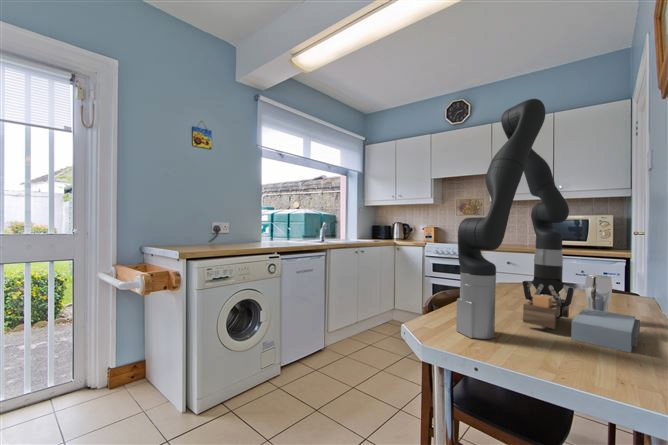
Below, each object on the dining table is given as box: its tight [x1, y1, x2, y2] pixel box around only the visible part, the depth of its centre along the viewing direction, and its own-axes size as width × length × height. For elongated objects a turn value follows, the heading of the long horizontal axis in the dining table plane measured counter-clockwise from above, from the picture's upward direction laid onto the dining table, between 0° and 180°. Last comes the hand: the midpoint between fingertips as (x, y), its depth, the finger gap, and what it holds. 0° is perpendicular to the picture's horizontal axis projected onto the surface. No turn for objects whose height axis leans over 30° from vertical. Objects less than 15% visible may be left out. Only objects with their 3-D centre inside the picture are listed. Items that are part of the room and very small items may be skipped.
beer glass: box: [584, 274, 613, 312], centre depth 106 cm, size 7×7×15 cm
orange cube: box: [532, 294, 552, 309], centre depth 95 cm, size 4×4×4 cm
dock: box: [570, 307, 641, 354], centre depth 89 cm, size 22×13×5 cm, turn 134°
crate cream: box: [542, 291, 562, 302], centre depth 103 cm, size 4×4×4 cm
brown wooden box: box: [522, 298, 570, 330], centre depth 99 cm, size 20×8×6 cm, turn 133°
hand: (546, 315), depth 99 cm, fingers closed on brown wooden box, 5 cm apart
